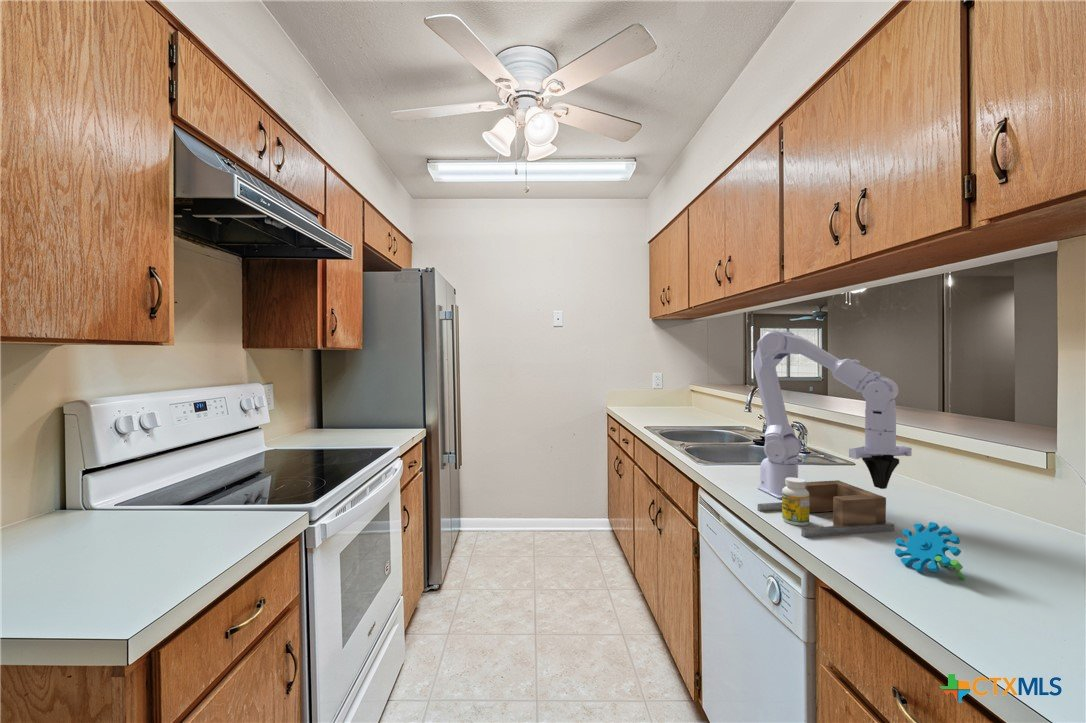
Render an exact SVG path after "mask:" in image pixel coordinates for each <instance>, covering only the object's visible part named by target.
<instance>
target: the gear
mask: <svg viewBox="0 0 1086 723" xmlns="http://www.w3.org/2000/svg"><path fill="white" fill-rule="evenodd" d="M913 527H914V528H915V533H914V534H913V532H912V531H911V530H910V528H904V529H902V531H901V533H902V535H903V536H904V537H906V538H907V540H908V541H907V542H905V541H904V540H903V538H901V537H897V538H896V539H895V541H894V543H895V544H896V545H897V546H898V547H904V548H906V549H905V550H903V549H901V548H895V549H894V554H895V556H897V557H898V558H900V562H901V563H902V564H903V565H904V566H905V567H906V568H907V567H908V568H909V567H910V566H911V565H912V566H911V567H912V568H913V569H914V570H915V571H917V572H919V573H922V572H924V571H925V570H924V569H925V566H926V565H927V569H928V570H929V571H930V572H933V573H936V572H937V573H938V572H940V567H939V566H938V565H940V566H941V567H943V568H944V569H946V570H947V571H948V572H950V573H952V574H956V575H957V577H958V578H959V579H960V580H963V581H965V580H966V579H967V577H966V575H965V574H963V573H962V572H961V570H962V569H964V567H963V565H962V564H961V563H960V562H959V561H958V560H957V559H956V558H953V559H951V557H948V556H947V555H946V552H947V551H949V552H950V553H951V554H952V555H953V556H954V557H958V556H960V554H961V553H962V550H960V549H959V547H958V546H956V545H959V544H960V542H961V541H960V540H961V538H960V537H959V536H958V535H956V534H953V531H952V530H951V529H950V527H948V526H947V525H943V526H942V527H941V526H940V525H939V524H938V523H936V522H933V521H929V522H928V526H927V527H925V526H924V524H922V523H919V522H918V523H914V525H913ZM943 535H944V536H943ZM945 535H946V536H945ZM949 542H950V543H952V544H954V545H953V546H952V545H948V544H947V543H949ZM909 556H910V557H909Z"/></svg>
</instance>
